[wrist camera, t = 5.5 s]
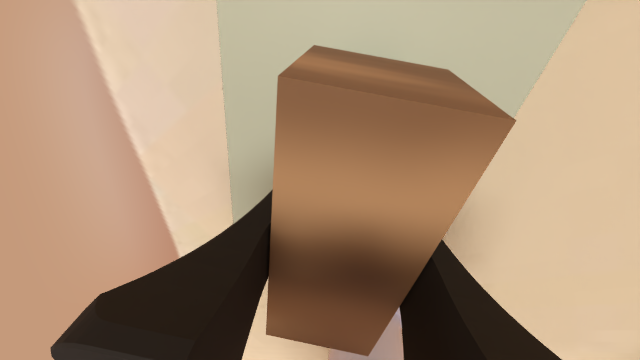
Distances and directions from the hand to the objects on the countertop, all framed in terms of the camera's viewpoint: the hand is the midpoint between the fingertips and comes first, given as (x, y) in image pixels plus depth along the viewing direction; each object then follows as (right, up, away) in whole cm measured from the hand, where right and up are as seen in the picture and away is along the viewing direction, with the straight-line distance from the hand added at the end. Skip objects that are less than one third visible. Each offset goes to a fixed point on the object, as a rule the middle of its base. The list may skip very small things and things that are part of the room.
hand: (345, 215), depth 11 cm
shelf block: (0, +1, +2) cm, 2 cm away
